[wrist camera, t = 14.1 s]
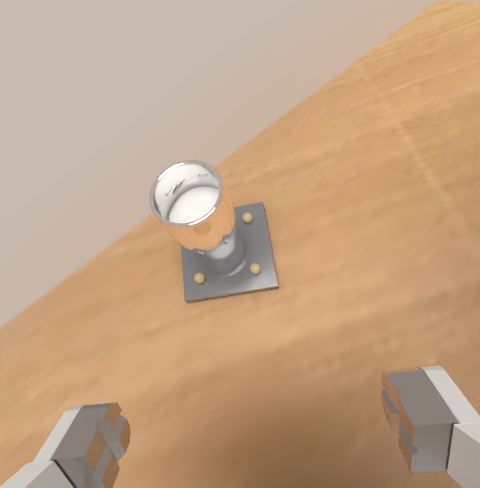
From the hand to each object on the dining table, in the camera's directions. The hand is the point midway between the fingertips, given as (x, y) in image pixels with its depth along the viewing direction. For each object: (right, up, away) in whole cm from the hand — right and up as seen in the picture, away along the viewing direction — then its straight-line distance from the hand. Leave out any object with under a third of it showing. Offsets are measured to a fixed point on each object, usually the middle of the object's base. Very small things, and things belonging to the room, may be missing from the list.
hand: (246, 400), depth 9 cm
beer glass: (-2, +4, +30) cm, 30 cm away
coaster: (-2, +4, +31) cm, 31 cm away
